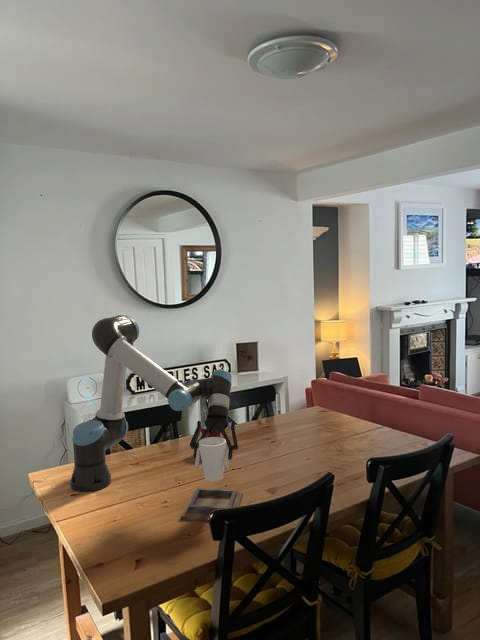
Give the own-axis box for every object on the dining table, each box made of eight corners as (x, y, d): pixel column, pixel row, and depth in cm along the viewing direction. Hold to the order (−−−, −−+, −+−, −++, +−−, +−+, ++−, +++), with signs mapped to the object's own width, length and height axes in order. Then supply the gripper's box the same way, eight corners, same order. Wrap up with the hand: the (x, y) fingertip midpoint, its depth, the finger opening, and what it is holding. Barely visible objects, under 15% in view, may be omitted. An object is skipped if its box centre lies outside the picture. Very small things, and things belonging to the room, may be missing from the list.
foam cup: (228, 472, 185) (227, 437, 184) (225, 483, 176) (224, 446, 175) (202, 472, 186) (201, 436, 185) (197, 483, 177) (196, 446, 176)
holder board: (180, 519, 174) (180, 510, 173) (194, 493, 193) (194, 484, 193) (234, 522, 171) (234, 512, 171) (242, 495, 191) (242, 486, 191)
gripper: (249, 414, 193) (245, 473, 179) (190, 413, 196) (181, 471, 182) (247, 404, 187) (242, 464, 173) (186, 403, 190) (177, 462, 176)
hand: (211, 467), depth 178 cm, fingers closed on foam cup, 9 cm apart
